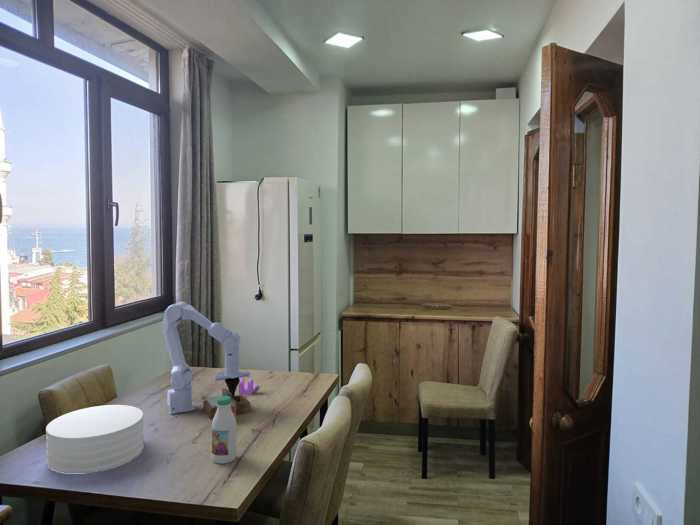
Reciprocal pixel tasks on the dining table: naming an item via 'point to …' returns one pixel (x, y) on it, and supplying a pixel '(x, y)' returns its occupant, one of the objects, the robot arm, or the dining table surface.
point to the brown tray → (241, 404)
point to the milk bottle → (224, 432)
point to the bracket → (247, 387)
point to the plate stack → (94, 438)
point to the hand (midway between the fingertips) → (232, 395)
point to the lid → (213, 399)
